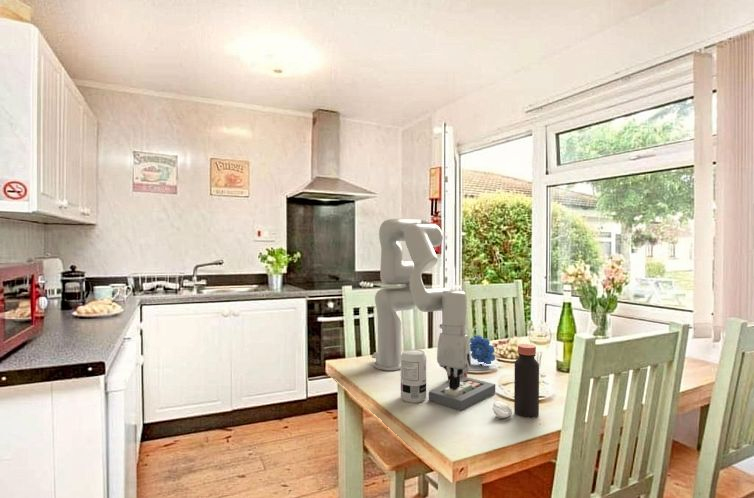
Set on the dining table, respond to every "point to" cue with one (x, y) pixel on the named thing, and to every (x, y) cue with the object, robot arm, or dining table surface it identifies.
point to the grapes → (482, 350)
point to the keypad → (465, 399)
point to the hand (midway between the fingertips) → (454, 387)
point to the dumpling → (501, 409)
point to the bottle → (526, 382)
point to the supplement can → (413, 376)
